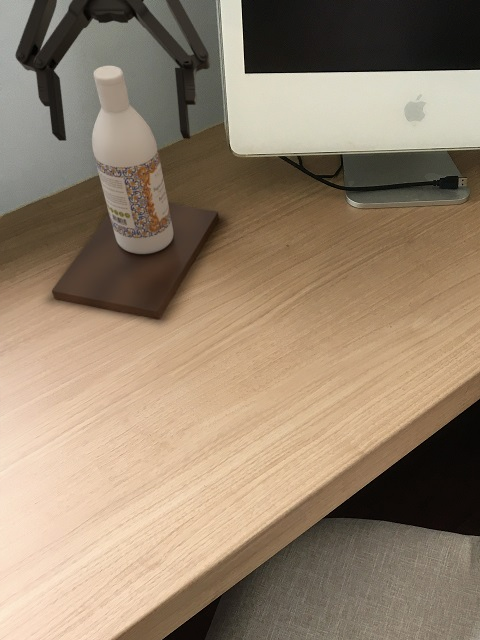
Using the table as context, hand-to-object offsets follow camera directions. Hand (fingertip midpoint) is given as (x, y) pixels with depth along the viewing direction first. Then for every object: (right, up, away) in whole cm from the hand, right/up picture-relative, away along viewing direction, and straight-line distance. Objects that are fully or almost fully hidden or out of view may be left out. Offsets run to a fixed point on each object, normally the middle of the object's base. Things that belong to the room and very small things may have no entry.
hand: (122, 136), depth 87 cm
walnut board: (-1, -10, +10) cm, 14 cm away
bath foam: (0, -8, +10) cm, 13 cm away
